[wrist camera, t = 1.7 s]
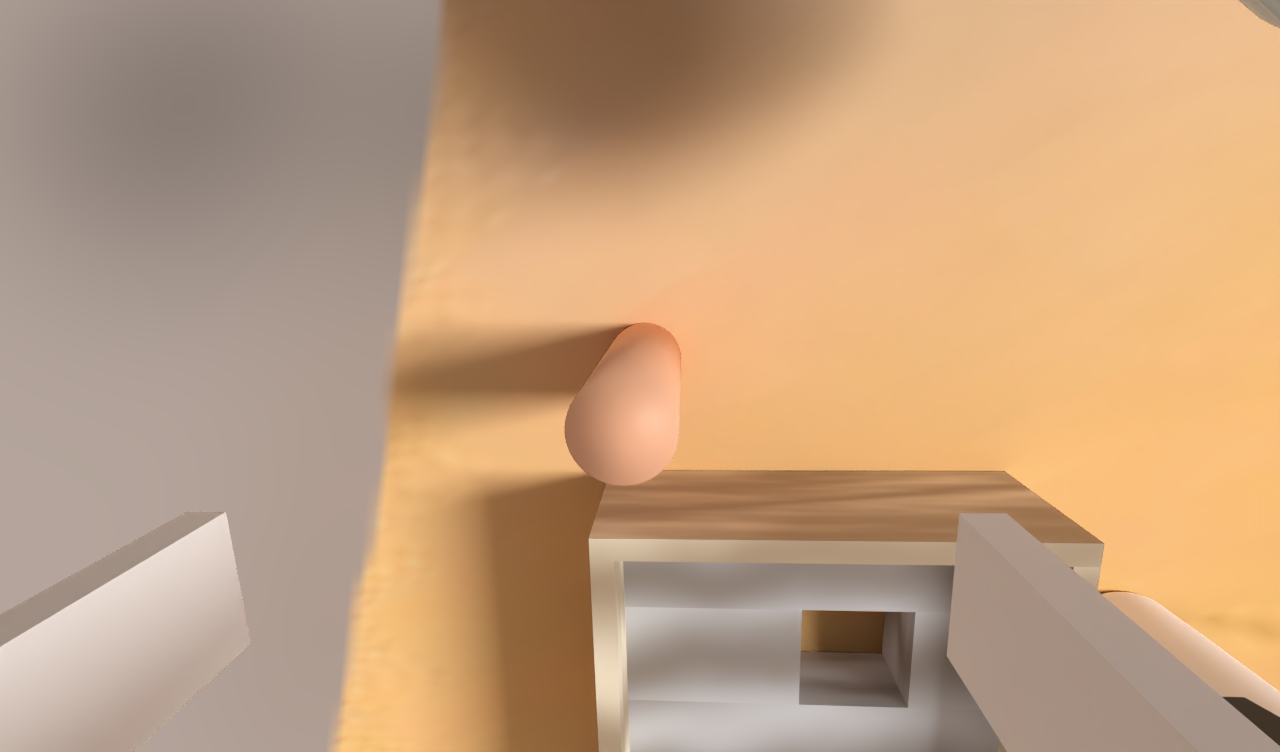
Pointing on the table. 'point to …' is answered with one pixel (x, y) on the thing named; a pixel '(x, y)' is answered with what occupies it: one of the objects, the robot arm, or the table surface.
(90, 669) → the robot arm
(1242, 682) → the mug
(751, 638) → the socket box
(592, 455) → the peg
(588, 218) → the table surface
